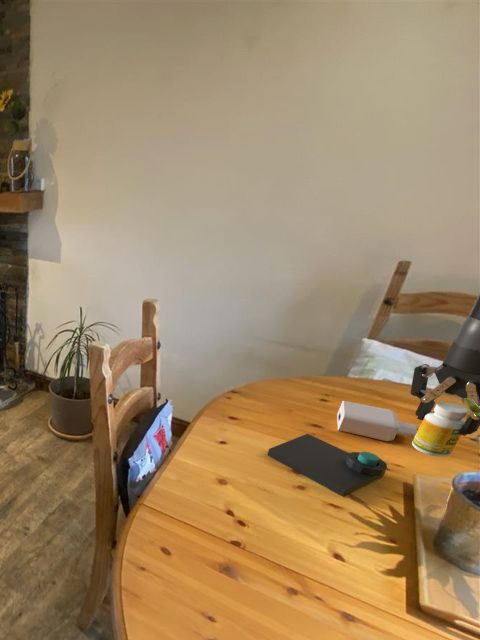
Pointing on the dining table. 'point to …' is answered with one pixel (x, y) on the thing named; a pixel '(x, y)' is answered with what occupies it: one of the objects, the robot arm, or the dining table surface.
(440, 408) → the supplement bottle
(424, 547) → the dining table surface
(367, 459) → the tare button
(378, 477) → the scale
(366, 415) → the charger
